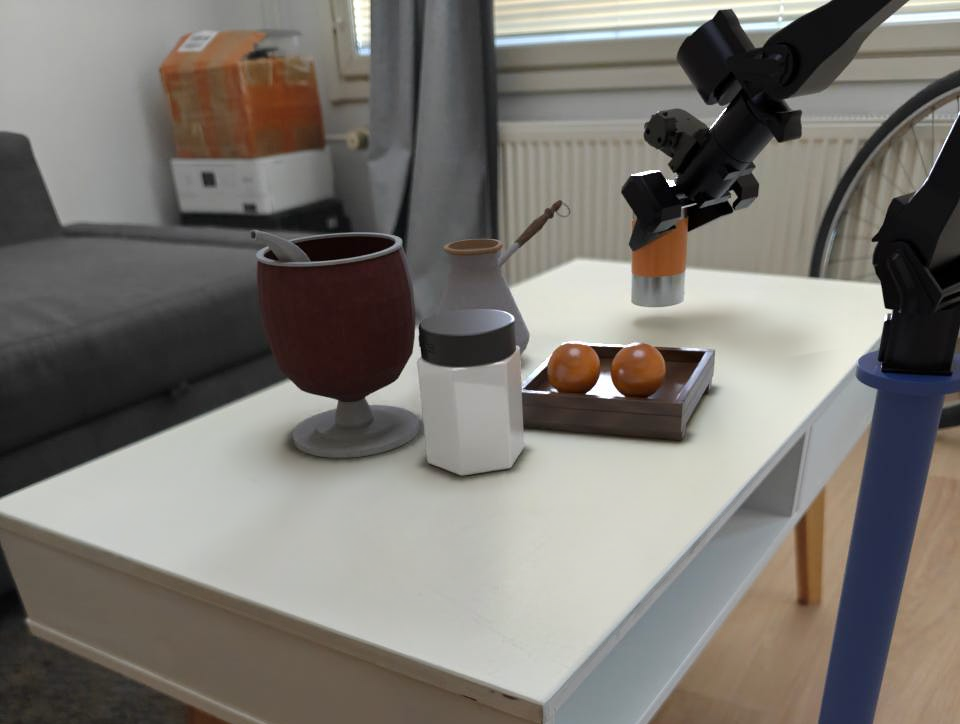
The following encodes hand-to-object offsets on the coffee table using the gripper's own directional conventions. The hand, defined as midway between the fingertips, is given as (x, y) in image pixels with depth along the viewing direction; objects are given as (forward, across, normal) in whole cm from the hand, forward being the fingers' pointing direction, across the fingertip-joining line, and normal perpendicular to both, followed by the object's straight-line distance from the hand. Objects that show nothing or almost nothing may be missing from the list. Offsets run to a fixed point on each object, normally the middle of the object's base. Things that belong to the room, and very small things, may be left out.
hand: (650, 242), depth 111 cm
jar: (-5, +43, +18) cm, 47 cm away
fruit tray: (-6, +26, +19) cm, 32 cm away
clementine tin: (+4, 0, +6) cm, 7 cm away
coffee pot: (+10, +20, +3) cm, 22 cm away
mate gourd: (+5, +47, +8) cm, 48 cm away
